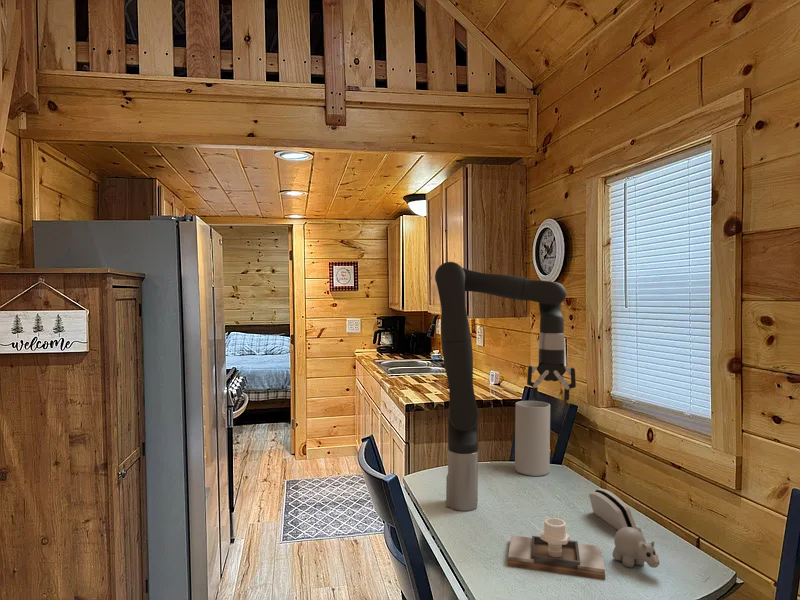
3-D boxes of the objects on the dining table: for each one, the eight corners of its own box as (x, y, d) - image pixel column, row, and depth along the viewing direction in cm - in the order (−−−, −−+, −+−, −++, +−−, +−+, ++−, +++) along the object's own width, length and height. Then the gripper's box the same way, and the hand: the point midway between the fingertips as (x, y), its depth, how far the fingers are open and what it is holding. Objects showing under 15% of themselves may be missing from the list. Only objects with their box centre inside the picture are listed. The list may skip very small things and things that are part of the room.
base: (507, 565, 129) (507, 555, 129) (511, 540, 142) (511, 530, 142) (605, 579, 123) (605, 568, 123) (599, 551, 137) (599, 541, 136)
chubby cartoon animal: (644, 582, 122) (645, 545, 122) (607, 558, 133) (607, 524, 133) (669, 577, 124) (669, 540, 124) (630, 553, 136) (630, 520, 135)
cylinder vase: (552, 468, 202) (552, 402, 202) (546, 478, 191) (547, 408, 191) (518, 464, 207) (519, 399, 207) (511, 473, 196) (512, 405, 196)
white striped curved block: (643, 534, 146) (632, 501, 146) (628, 542, 145) (618, 508, 145) (608, 510, 163) (598, 480, 162) (594, 517, 162) (584, 486, 161)
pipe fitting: (573, 560, 130) (573, 527, 130) (544, 560, 130) (544, 527, 129) (565, 548, 136) (565, 516, 136) (536, 548, 136) (537, 516, 136)
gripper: (527, 347, 162) (526, 401, 162) (576, 349, 158) (576, 404, 158) (527, 345, 169) (527, 397, 169) (575, 347, 165) (574, 399, 165)
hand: (550, 400), depth 164 cm, fingers open, 8 cm apart
